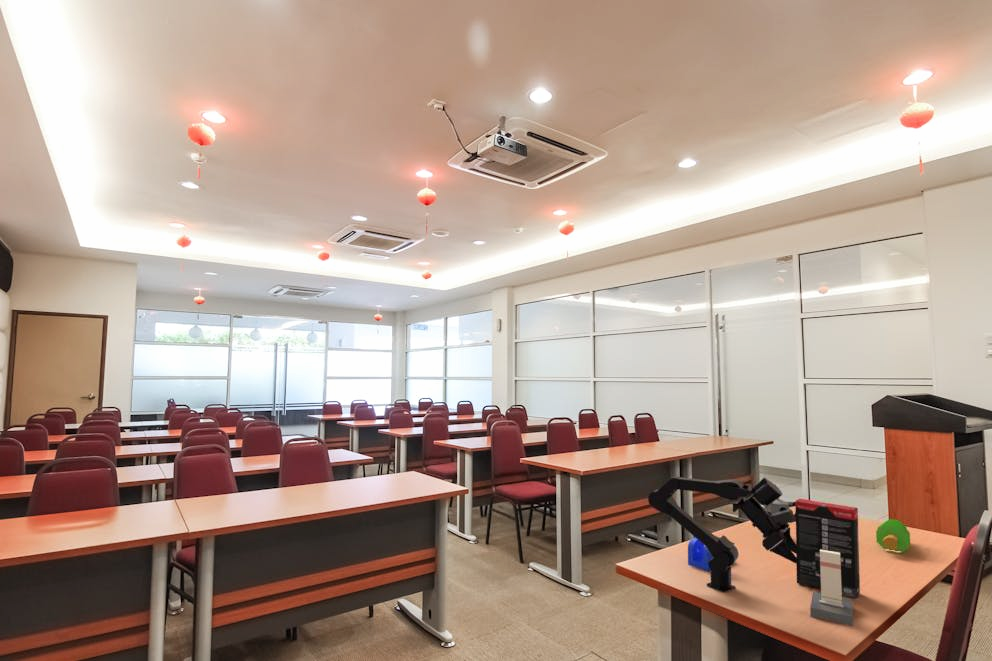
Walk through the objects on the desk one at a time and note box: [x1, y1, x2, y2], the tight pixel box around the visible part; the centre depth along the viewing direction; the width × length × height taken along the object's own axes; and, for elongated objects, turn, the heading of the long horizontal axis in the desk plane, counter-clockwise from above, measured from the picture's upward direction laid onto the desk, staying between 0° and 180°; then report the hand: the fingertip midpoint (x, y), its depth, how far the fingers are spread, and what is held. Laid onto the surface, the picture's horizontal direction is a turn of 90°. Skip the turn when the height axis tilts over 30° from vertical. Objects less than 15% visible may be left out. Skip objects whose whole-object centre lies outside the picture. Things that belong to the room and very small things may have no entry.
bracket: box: [687, 537, 713, 572], centre depth 193 cm, size 18×8×9 cm, turn 124°
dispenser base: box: [809, 590, 854, 627], centre depth 154 cm, size 10×14×3 cm
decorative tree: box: [875, 518, 911, 553], centre depth 216 cm, size 11×12×30 cm
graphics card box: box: [794, 498, 861, 599], centre depth 172 cm, size 17×7×27 cm, turn 48°
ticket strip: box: [820, 549, 843, 605], centre depth 155 cm, size 5×2×16 cm, turn 56°
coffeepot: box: [763, 497, 796, 529], centre depth 226 cm, size 15×9×18 cm, turn 70°
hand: (798, 558), depth 159 cm, fingers open, 9 cm apart
